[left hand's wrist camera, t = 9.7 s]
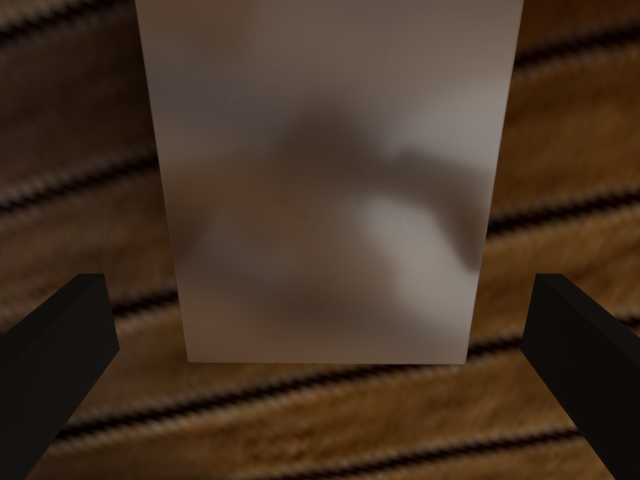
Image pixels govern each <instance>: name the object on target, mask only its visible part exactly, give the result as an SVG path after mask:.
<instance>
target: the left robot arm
mask: <svg viewBox="0 0 640 480" xmlns="http://www.w3.org/2000/svg"><path fill="white" fill-rule="evenodd" d="M119 350H120V348H119V343H118V339H117V334H116V329H115V324H114V320H113V315H112V310H111V305H110V301H109V296H108V291H107V286H106V282H105V277H104V274H78V275H76V276H75V277H74V278H73V279H72V280H70V281H69V282H68V283H67V284H65V285H64V286H63V287H62V288H61V289H59V290H58V291H57V292H56V293H54V294H53V295H52V296H51V297H50V298H48V299H47V300H46V301H45V302H43V303H42V304H41V305H40V306H39V307H37V308H36V309H35V310H34V311H33V312H31V313H30V314H29V315H28V316H26V317H25V318H24V319H23V320H22V321H20V322H19V323H18V324H17V325H15V326H14V327H13V328H12V329H11V330H9V331H8V332H7V333H6V334H4V335H3V336H2V337H1V338H0V480H25V478H26V477H27V476H28V474H29V473H30V472H31V470H32V469H33V467H34V466H35V465H36V463H37V462H38V461H39V459H40V458H41V456H42V455H43V454H44V452H45V451H46V450H47V448H48V447H49V446H50V444H51V443H52V441H53V440H54V439H55V437H56V436H57V435H58V433H59V432H60V431H61V429H62V428H63V426H64V425H65V424H66V422H67V421H68V420H69V418H70V417H71V415H72V414H73V413H74V411H75V410H76V409H77V407H78V406H79V405H80V403H81V402H82V400H83V399H84V398H85V396H86V395H87V394H88V392H89V391H90V390H91V388H92V387H93V385H94V384H95V383H96V381H97V380H98V379H99V377H100V376H101V375H102V373H103V372H104V370H105V369H106V368H107V366H108V365H109V364H110V362H111V361H112V359H113V358H114V357H115V355H116V354H117V353H118V351H119ZM520 350H521V351H522V353H523V354H524V355H525V357H526V358H527V359H528V361H529V362H530V364H531V365H532V366H533V368H534V369H535V370H536V372H537V373H538V375H539V376H540V377H541V379H542V380H543V381H544V383H545V384H546V385H547V387H548V388H549V390H550V391H551V392H552V394H553V395H554V396H555V398H556V399H557V400H558V402H559V403H560V405H561V406H562V407H563V409H564V410H565V411H566V413H567V414H568V415H569V417H570V418H571V420H572V421H573V422H574V424H575V425H576V426H577V428H578V429H579V431H580V432H581V433H582V435H583V436H584V437H585V439H586V440H587V441H588V443H589V444H590V446H591V447H592V448H593V450H594V451H595V452H596V454H597V455H598V456H599V458H600V459H601V461H602V462H603V463H604V465H605V466H606V467H607V469H608V470H609V472H610V473H611V474H612V476H613V477H614V478H615V480H640V338H639V337H638V336H637V335H636V334H634V333H633V332H632V331H631V330H629V329H628V328H627V327H626V326H625V325H623V324H622V323H621V322H620V321H618V320H617V319H616V318H615V317H614V316H612V315H611V314H610V313H609V312H607V311H606V310H605V309H604V308H603V307H601V306H600V305H599V304H598V303H597V302H595V301H594V300H593V299H592V298H590V297H589V296H588V295H587V294H586V293H584V292H583V291H582V290H581V289H579V288H578V287H577V286H576V285H575V284H573V283H572V282H571V281H570V280H568V279H567V278H566V277H565V276H564V275H562V274H536V277H535V282H534V286H533V291H532V296H531V301H530V305H529V310H528V315H527V320H526V324H525V329H524V334H523V339H522V343H521V348H520Z"/></svg>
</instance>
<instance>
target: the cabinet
mask: <svg viewBox="0 0 640 480" xmlns="http://www.w3.org/2000/svg"><path fill="white" fill-rule="evenodd" d="M523 2H524V0H135V4H136V11H137V18H138V25H139V31H140V38H141V45H142V52H143V59H144V65H145V72H146V79H147V86H148V92H149V99H150V106H151V113H152V119H153V126H154V133H155V140H156V147H157V153H158V160H159V167H160V174H161V180H162V187H163V194H164V201H165V208H166V214H167V221H168V228H169V235H170V241H171V248H172V255H173V262H174V268H175V275H176V282H177V289H178V296H179V302H180V309H181V316H182V323H183V329H184V336H185V343H186V350H187V357H188V362H199V363H336V364H465V363H466V357H467V350H468V344H469V338H470V332H471V326H472V319H473V313H474V307H475V301H476V294H477V288H478V282H479V276H480V270H481V263H482V257H483V251H484V245H485V239H486V232H487V226H488V220H489V214H490V207H491V201H492V195H493V189H494V183H495V176H496V170H497V164H498V158H499V152H500V145H501V139H502V133H503V127H504V120H505V114H506V108H507V102H508V96H509V89H510V83H511V77H512V71H513V65H514V58H515V52H516V46H517V40H518V34H519V27H520V21H521V15H522V9H523Z"/></svg>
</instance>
